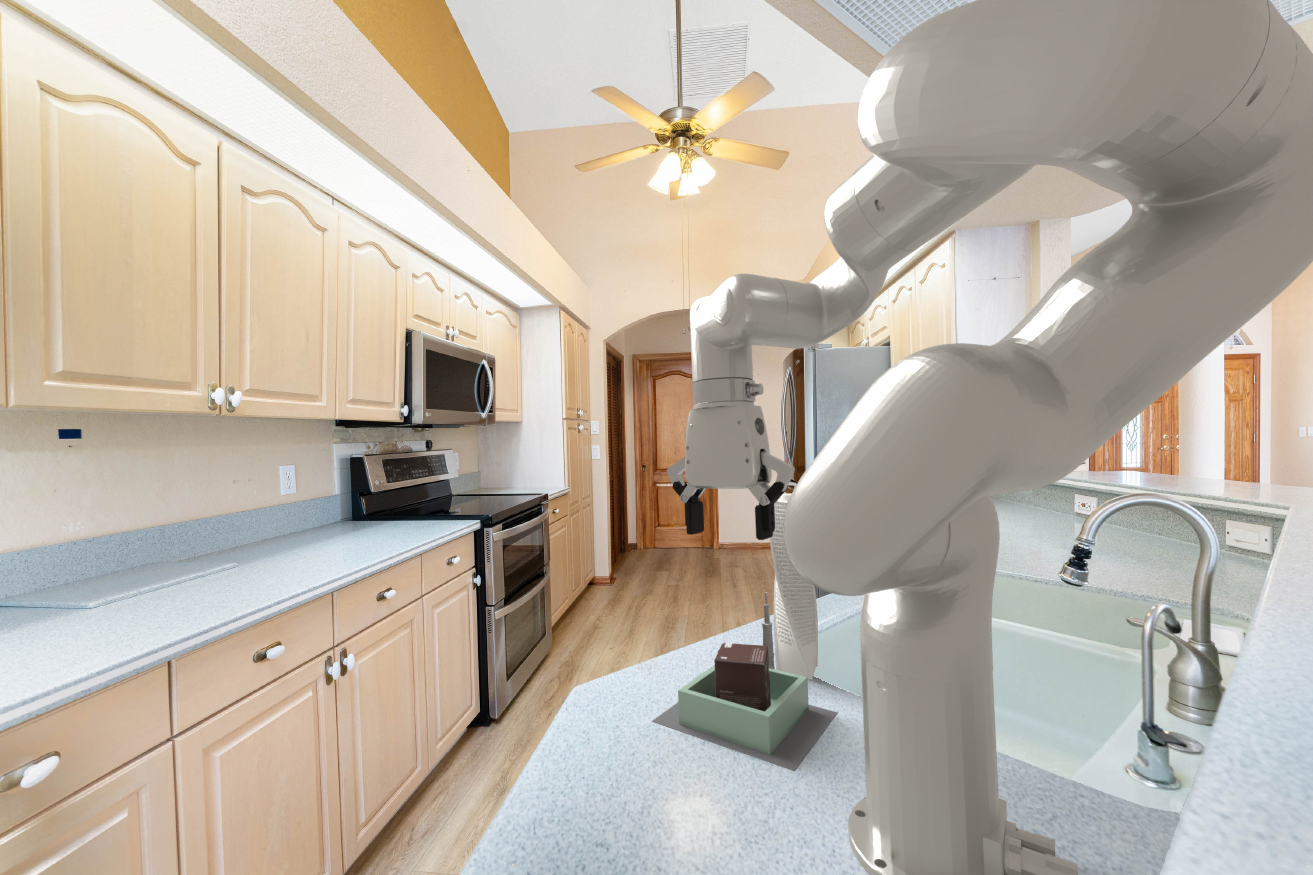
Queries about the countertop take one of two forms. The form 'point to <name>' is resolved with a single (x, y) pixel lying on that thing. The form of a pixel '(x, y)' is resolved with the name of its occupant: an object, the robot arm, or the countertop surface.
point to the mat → (785, 753)
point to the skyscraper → (790, 609)
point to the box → (743, 675)
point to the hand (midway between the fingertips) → (728, 535)
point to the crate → (745, 711)
